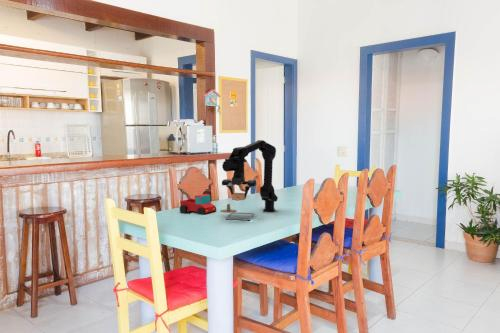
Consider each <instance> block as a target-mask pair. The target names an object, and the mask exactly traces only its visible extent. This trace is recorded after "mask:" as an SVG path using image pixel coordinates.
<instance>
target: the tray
mask: <svg viewBox="0 0 500 333" xmlns="http://www.w3.org/2000/svg"><path fill="white" fill-rule="evenodd" d="M232 214H233V215H234V214H235V215H250V216H249V217H237V216H234V217H233V216H231V215H232ZM254 215H255V213H254V212H253V213H252V212H238V211H237V212H231V213H228V214H227V215H226V216H225V221H237V222H239V221H240V222H250V221H251V219H252V218H253V217H254Z"/></svg>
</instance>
